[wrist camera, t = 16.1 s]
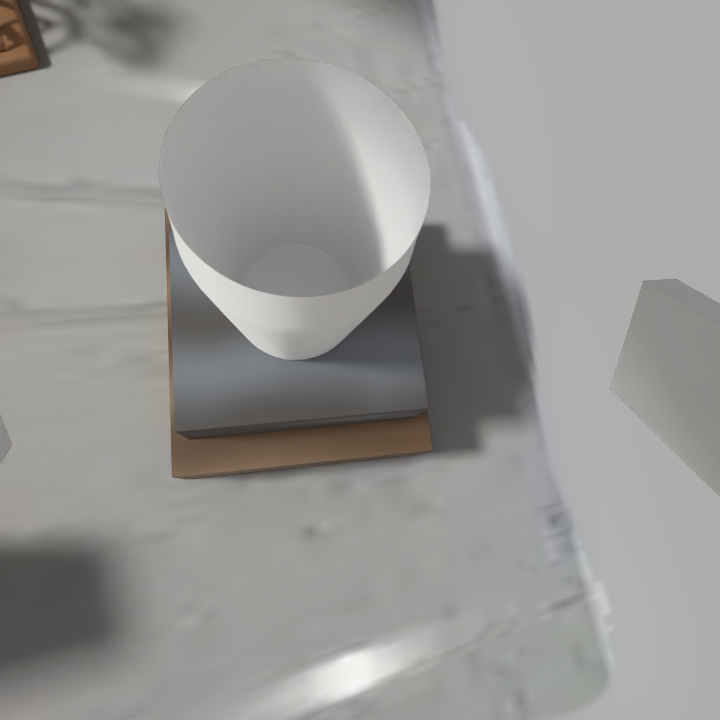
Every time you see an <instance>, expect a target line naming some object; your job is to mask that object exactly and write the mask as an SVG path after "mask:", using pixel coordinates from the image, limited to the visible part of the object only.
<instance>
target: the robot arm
mask: <svg viewBox="0 0 720 720" xmlns="http://www.w3.org/2000/svg"><path fill="white" fill-rule="evenodd" d="M610 389H611V390H612V391H613V392H614V393H615V394H616V395H617V396H618V397H619V398H620V399H621V400H622V401H623V402H624V403H625V404H626V405H627V406H628V407H629V408H630V409H631V410H632V411H633V412H634V413H635V414H636V415H637V416H638V417H639V418H640V419H641V420H642V421H643V422H644V423H645V424H646V425H647V426H648V427H649V428H650V429H651V430H652V431H653V432H654V433H655V434H657V435H658V436H659V437H660V438H661V439H662V440H663V441H664V442H665V443H666V444H667V445H668V446H669V447H670V448H671V449H672V450H673V451H674V452H675V453H676V454H677V455H678V456H679V457H680V458H681V459H682V460H683V461H684V462H685V463H686V464H687V465H688V466H689V467H690V468H691V469H692V470H693V471H694V472H695V473H696V474H697V475H698V476H700V477H701V479H702V480H703V481H704V482H705V483H707V484H708V485H709V486H710V487H711V488H712V489H713V490H714V491H715V492H716V493H717V494H718V495H719V496H720V304H719V303H718V302H716V301H714V300H712V299H711V298H709V297H707V296H705V295H704V294H702V293H700V292H698V291H696V290H695V289H693V288H691V287H689V286H688V285H686V284H684V283H682V282H680V281H679V280H677V279H667V280H649V281H643V284H642V288H641V291H640V294H639V297H638V301H637V304H636V307H635V310H634V313H633V316H632V320H631V323H630V326H629V329H628V332H627V336H626V339H625V342H624V346H623V349H622V352H621V355H620V358H619V361H618V365H617V368H616V371H615V374H614V378H613V381H612V384H611V387H610ZM11 446H12V441H11V439H10V437H9V434H8V432H7V430H6V427H5V425H4V423H3V420H2V418H1V416H0V464H1V463H2V461H3V459H4V458H5V456H6V454H7V453H8V451H9V449H10V448H11Z"/></svg>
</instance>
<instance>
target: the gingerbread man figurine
mask: <svg viewBox="0 0 720 720" xmlns="http://www.w3.org/2000/svg"><path fill="white" fill-rule="evenodd" d="M38 67H39V61H38V58H37V56H36V53H35V50H34V47H33V44H32V41H31V38H30V35H29V33H28V30H27V27H26V24H25V21H24V18H23V15H22V13H21V10H20V7H19V4H18V1H17V0H0V77H1V76H5V75H10V74H14V73H18V72H23V71H27V70H32V69H36V68H38Z"/></svg>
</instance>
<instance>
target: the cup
mask: <svg viewBox="0 0 720 720" xmlns="http://www.w3.org/2000/svg"><path fill="white" fill-rule="evenodd" d="M159 182H160V189H161V194H162V199H163V202H164V205H165V208H166V211H167V214H168V217H169V220H170V223H171V227H172V230H173V234H174V238H175V242H176V246H177V249H178V252H179V254H180V257H181V259H182V261H183V263H184V265H185V267H186V268H187V270H188V272H189V274H190V275H191V277H192V278H193V280H194V281H195V282H196V284H197V285H198V286H199V288H200V289H201V290H202V291H203V292H204V293H205V294H206V295H207V297H208V298H209V299H210V300H211V301H212V302H213V303H214V304H215V305H216V306H217V307H218V308H219V309H220V311H221V312H222V313H223V314H224V315H225V316H226V317H227V318H228V319H229V320H230V321H231V322H232V323H233V324H234V325H235V326H236V327H237V328H238V329H239V331H240V332H241V333H242V334H243V335H244V336H245V337H246V338H247V339H248V340H249V341H250V342H251V343H252V344H253V345H254V346H256V347H257V348H259V349H260V350H262V351H263V352H265V353H267V354H269V355H272V356H275V357H278V358H282V359H288V360H303V359H309V358H314V357H317V356H320V355H322V354H324V353H326V352H328V351H330V350H331V349H333V348H334V347H335V346H336V345H338V344H339V343H340V342H341V341H342V340H343V339H344V338H345V337H346V336H347V335H348V334H349V333H350V332H351V331H352V330H354V329H355V328H356V327H357V326H358V325H359V324H360V323H361V322H362V321H363V320H364V319H365V318H366V317H367V316H368V315H369V314H370V313H371V312H372V311H373V310H374V309H375V308H376V307H378V306H379V305H380V304H381V303H382V302H383V301H384V299H385V298H386V297H387V296H388V295H389V294H390V293H391V292H392V290H393V289H394V288H395V286H396V285H397V284H398V282H399V281H400V279H401V278H402V276H403V274H404V273H405V271H406V269H407V266H408V264H409V262H410V259H411V256H412V253H413V250H414V247H415V243H416V240H417V238H418V235H419V232H420V230H421V227H422V224H423V222H424V219H425V216H426V213H427V209H428V204H429V198H430V171H429V164H428V160H427V155H426V152H425V149H424V146H423V144H422V141H421V139H420V137H419V135H418V133H417V131H416V129H415V128H414V126H413V124H412V123H411V121H410V120H409V118H408V117H407V115H406V114H405V113H404V112H403V111H402V109H401V108H400V107H399V106H398V105H397V104H396V103H395V102H394V101H393V100H392V99H391V98H390V97H389V96H388V95H387V94H385V93H384V92H383V91H382V90H381V89H379V88H378V87H376V86H375V85H374V84H372V83H371V82H369V81H367V80H366V79H364V78H362V77H360V76H359V75H356V74H354V73H352V72H350V71H348V70H345V69H343V68H340V67H337V66H334V65H331V64H327V63H324V62H319V61H314V60H307V59H296V58H278V59H268V60H261V61H256V62H251V63H248V64H244V65H241V66H238V67H235V68H233V69H230V70H228V71H226V72H224V73H222V74H220V75H218V76H216V77H214V78H213V79H211V80H210V81H208V82H207V83H205V84H204V85H203V86H201V87H200V88H199V89H198V90H196V91H195V92H194V93H193V94H192V95H191V96H190V97H189V98H188V99H187V100H186V101H185V103H184V104H183V105H182V106H181V107H180V109H179V110H178V112H177V113H176V115H175V116H174V118H173V120H172V122H171V123H170V125H169V127H168V130H167V132H166V135H165V137H164V140H163V144H162V148H161V153H160V160H159Z"/></svg>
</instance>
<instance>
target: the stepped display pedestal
mask: <svg viewBox="0 0 720 720" xmlns="http://www.w3.org/2000/svg"><path fill="white" fill-rule="evenodd" d="M165 230H166V267H167V305H168V342H169V379H170V417H171V454H172V477H173V478H180V479H193V478H202V477H211V476H221V475H230V474H240V473H249V472H259V471H268V470H277V469H287V468H296V467H306V466H315V465H325V464H334V463H343V462H353V461H362V460H372V459H381V458H391V457H400V456H409V455H418V454H421V453H424V452H428V451H431V450H433V449H432V442H431V435H430V427H429V420H428V413H427V409H428V408H429V406H428V399H427V392H426V385H425V377H424V370H423V363H422V356H421V349H420V342H419V335H418V328H417V321H416V314H415V307H414V300H413V292H412V285H411V278H410V271H409V264H408V266H407V269H406V271H405V273H404V274H403V276H402V278H401V279H400V281H399V282H398V284H397V285H396V286H395V288H394V289H393V290H392V292H391V293H390V294H389V295H388V296H387V297H386V298H385V299H384V301H383V302H382V303H381V304H380V305H379V306H378V307H376V308H375V309H374V310H373V311H372V312H371V313H370V314H369V315H368V316H367V317H366V318H365V319H364V320H363V321H362V322H361V323H360V324H359V325H358V326H357V327H356V328H355V329H354V330H352V331H351V332H350V333H349V334H348V335H347V336H346V337H345V338H344V339H343V340H342V341H341V342H340V343H339V344H338V345H336V346H335V347H334V348H333V349H331V350H330V351H328V352H326V353H324V354H322V355H320V356H317V357H314V358H309V359H303V360H288V359H282V358H278V357H275V356H272V355H269V354H267V353H265V352H263V351H262V350H260V349H259V348H257V347H256V346H254V345H253V344H252V343H251V342H250V341H249V340H248V339H247V338H246V337H245V336H244V335H243V334H242V333H241V332H240V331H239V329H238V328H237V327H236V326H235V325H234V324H233V323H232V322H231V321H230V320H229V319H228V318H227V317H226V316H225V315H224V314H223V313H222V312H221V311H220V309H219V308H218V307H217V306H216V305H215V304H214V303H213V302H212V301H211V300H210V299H209V298H208V297H207V295H206V294H205V293H204V292H203V291H202V290H201V289H200V288H199V286H198V285H197V284H196V282H195V281H194V280H193V278H192V277H191V275H190V274H189V272H188V270H187V268H186V267H185V265H184V263H183V261H182V259H181V257H180V254H179V252H178V249H177V246H176V242H175V238H174V234H173V230H172V227H171V223H170V220H169V217H168V214H167V211H166V208H165Z"/></svg>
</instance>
